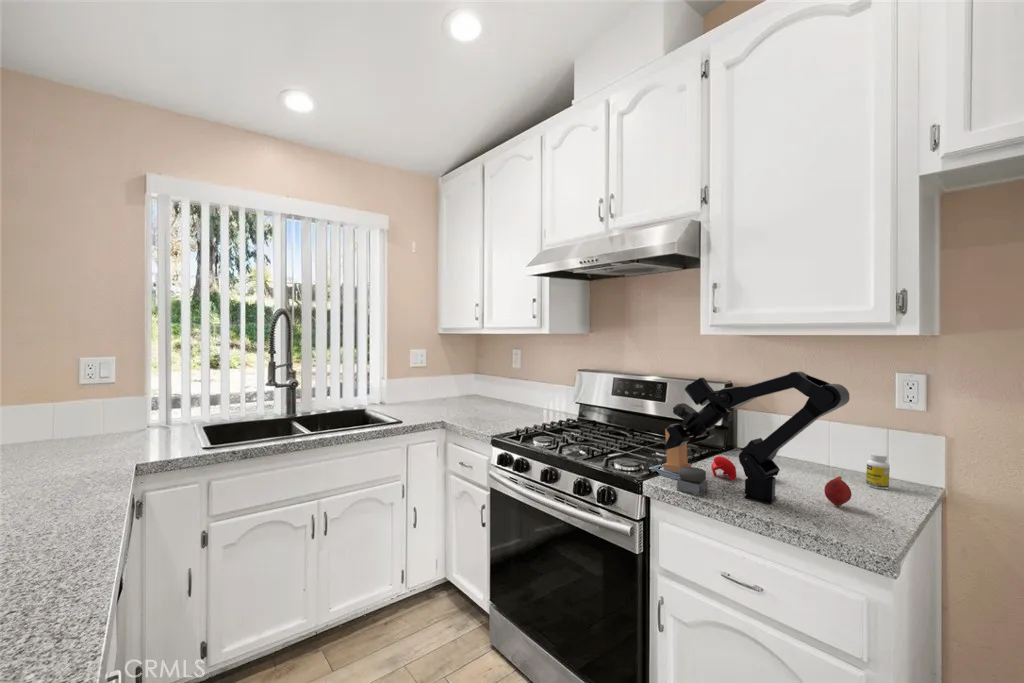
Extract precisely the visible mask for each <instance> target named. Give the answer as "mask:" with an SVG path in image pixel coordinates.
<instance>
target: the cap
mask: <svg viewBox="0 0 1024 683" xmlns="http://www.w3.org/2000/svg"><path fill="white" fill-rule="evenodd" d="M734 464H735V463H734V462H733V461H731V460H730V459H728V458H726V457H724V456H721V455H717V456H715V457H714V458H713V462H712V464H711V471H712V475H713V476H714V477H716V476H717V473H716V471H717V470H721V471H723V472H722V475H723V474H725V475H727V477H728V478H729V479H730V480H731V481H734V479H735V480H736V478H737V468H736V465H734Z"/></svg>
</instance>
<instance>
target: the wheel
mask: <svg viewBox="0 0 1024 683" xmlns="http://www.w3.org/2000/svg"><path fill="white" fill-rule="evenodd" d="M679 476H680V477H681V478H682V479H685V480H689V481H693V482H696V481H705V480H707V472H706V470H705V469H703V468H699V467H695V466H691V467H682V468H680V474H679Z"/></svg>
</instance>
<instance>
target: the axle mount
mask: <svg viewBox="0 0 1024 683" xmlns="http://www.w3.org/2000/svg"><path fill="white" fill-rule="evenodd" d="M708 481H709V480H708V479H706V480H705V481H696V482H693V481H689V480H685V479H682V478H679V479H677V480H676V490H677V491H680V492H684V493H686V494H687V493H688V494H692V495H695V494H696V495H695V496H698V495H699V496H700V495H702V494H703V492H704V491H705V492H707V491H708ZM706 490H707V491H706ZM705 492H704V493H705ZM701 493H702V494H701Z"/></svg>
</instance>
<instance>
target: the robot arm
mask: <svg viewBox="0 0 1024 683" xmlns="http://www.w3.org/2000/svg"><path fill="white" fill-rule="evenodd" d="M791 389H795V390H797V391H798V392H800V393H801V394H802V395H804V396H805V397H808V398H807V400H806V402H805V404H804V406H802V408H800V410H798V411H797V412H796V413H795V414H794V415H792V416H791V417H790V418H788V419H787V420H786V421H785V422H784V423H783V424H781V425H780V426H779V427H778V428H777V429H775V430H774V431H773V432H772V433H771V434H769V435H768V436H767V437H766V438H764V439H763V438H762V437H759V438H756V439H751V440H750V441H749V442H748V443H747V444H746V445H745V446H744V447H742V448H740V453H739V454H738V460H739V464H740V465H741V466H742V469H743V472H744V476H745V477H746V479H745V480H744V494H745V495H744V498H745V499H748V500H752V501H756V502H760V503H765V504H768V505H771V504H773V502H775V501H776V500H778V499H777V498H778V497H777V496H776V476H778V474H779V472H780V468H779V467H778V465H777V464H776V463H775V461H774V458H775V457H776V455H777V454H778V453H779V451H780V449H781V448H783V447H784V446H785V445H787V444H788V443H789V442H791V441H792V440H793V439H794V438H796V437H797V436H798V435H799V434H801V433H802V432H803V431H804V430H806V428H809V427H810V426H811V425H812V424H814V423H815V421H817V420H819V418H821V417H823V416H825V415H828V414H831V413H833V411H836V410H838V409H840V408H842V407H844V406H846V404H848V403H849V402H850V392H849V390H848V388H847V387H845V386H843V385H842V384H839V383H831V382H830V383H829V382H828V381H825V380H823V379H820V378H817V377H815V376H811V375H810V374H807V373H805V372H803V371H791V372H789V373H786V374H784V375H780V376H778V377H777V376H776V377H773V378H771V379H766V380H763V381H760V382H757V383H756V382H755V383H753V384H750V385H743V386H742V385H741V386H733V387H732V386H731V387H724V388H720V389H719V390H718V389H717V390H714V389H713V388H712V386H711V385H710V384H709V383H708V381H707V379H705V377H699V378H698V379H697V380H694V381H693V382H691V383H689V384H687V385H686V386H685V387H684V391H685V392H686V394H687V395H688V396H689V398H690V399H691V400H692V402H694V404H695V406H699V405H700V406H701V407H702V408H701V409H700V410H699V411H697V410H696V409H695V408H693V407H692V406H690V405H689V404H687V403H683V402H682V403H677V404H676V405H675V406H674V407H673V408H672V413H673V414H674V415H675V416H676V417H678V418H680V419H681V420H683V421H682V423H683V425H684V426H685V428H684V426H683V425H682V424H681V423H672V424H669V425H668V426H667V427H666V428H665V429H666V430H667V431H668V433H669V435H670V436H669V438H668V440H667V442H666V441H665V445H664V446H663V447H664V449H665V451H666V450H668V449H671V448H675V447H678V446H682V445H685V443H687V446H688V445H691V444H696V443H699V442H702V441H706V440H709V439H712V438H714V436H716V430H715V428H716V427H717V426H716V424H718V423H719V422H720V421H722V420H724V421H725V422H730V421H731V422H732V421H733V420H734V416H733V414H734V412H733V411H732V410H731V411H730V410H728V409H733V408H739V407H741V406H744V405H746V404H748V403H750V402H752V401H753V400H755V399H757V398H761V397H763V396H764V397H765V396H770V395H773V394H775V393H779V392H784V391H787V390H791ZM684 429H685V430H684Z"/></svg>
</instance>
